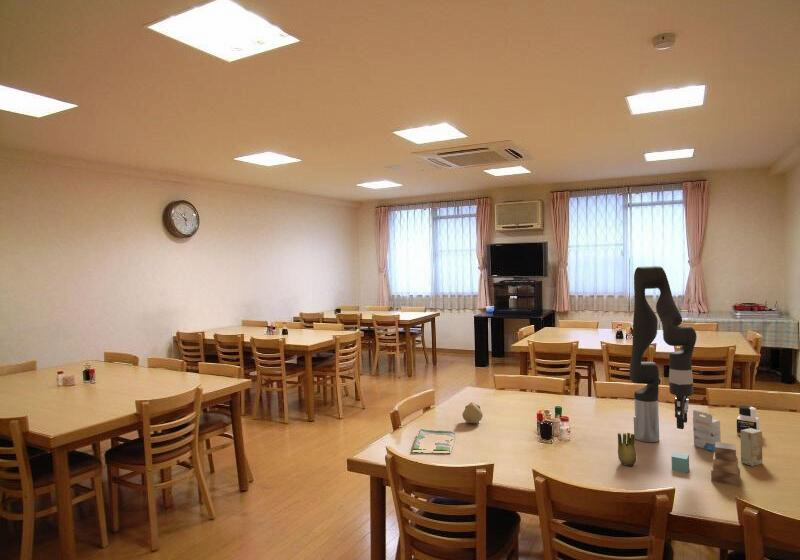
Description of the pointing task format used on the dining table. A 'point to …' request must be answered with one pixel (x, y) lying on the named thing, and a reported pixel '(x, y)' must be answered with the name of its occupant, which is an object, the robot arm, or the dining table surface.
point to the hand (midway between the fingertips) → (682, 425)
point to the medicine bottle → (747, 419)
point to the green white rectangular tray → (438, 445)
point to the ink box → (705, 430)
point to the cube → (680, 462)
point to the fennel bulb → (626, 449)
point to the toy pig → (472, 413)
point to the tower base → (725, 477)
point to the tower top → (725, 451)
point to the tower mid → (725, 465)
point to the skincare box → (751, 446)
